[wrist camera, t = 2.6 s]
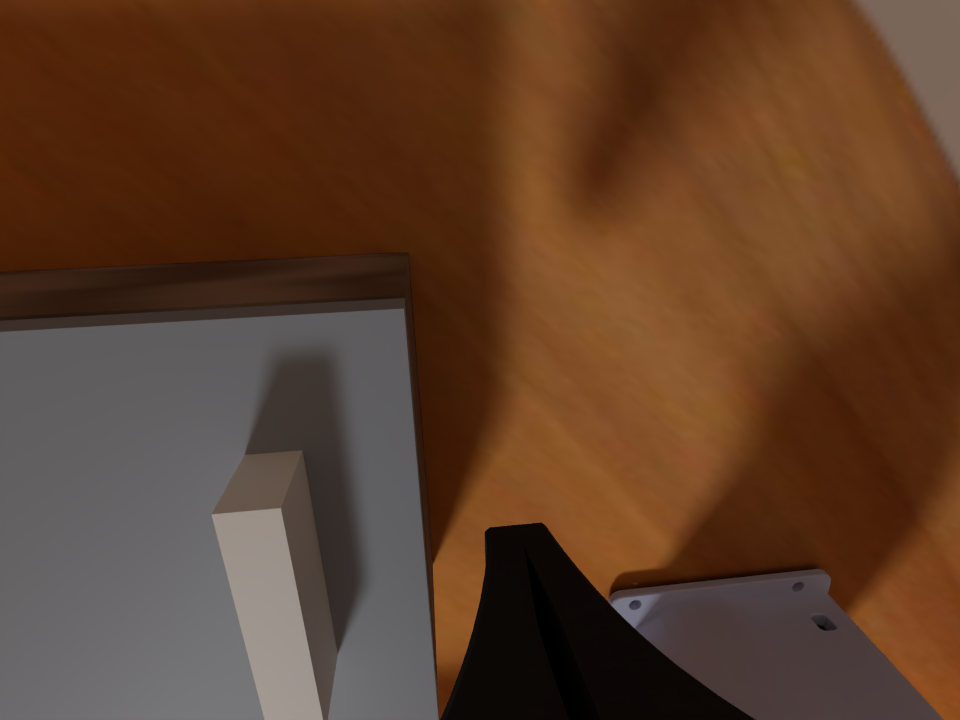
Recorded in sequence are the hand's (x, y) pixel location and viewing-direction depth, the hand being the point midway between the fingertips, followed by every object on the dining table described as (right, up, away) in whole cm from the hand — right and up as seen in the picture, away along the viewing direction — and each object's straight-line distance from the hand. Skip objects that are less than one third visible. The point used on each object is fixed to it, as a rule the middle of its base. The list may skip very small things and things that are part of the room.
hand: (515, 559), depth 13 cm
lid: (-9, 0, +1) cm, 9 cm away
